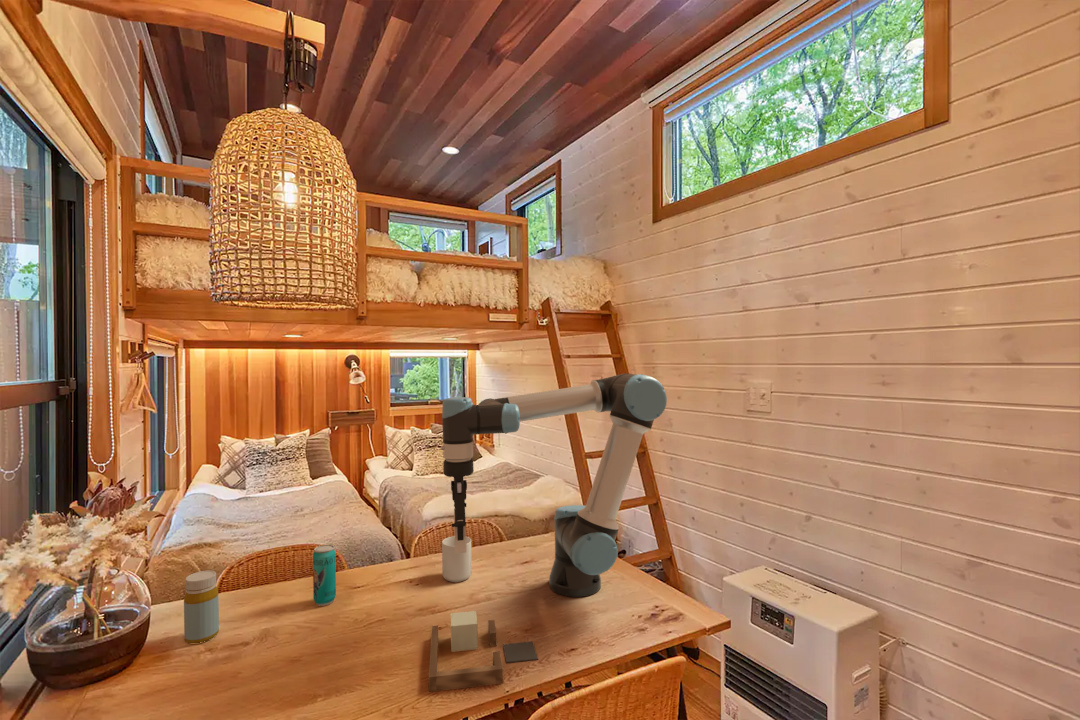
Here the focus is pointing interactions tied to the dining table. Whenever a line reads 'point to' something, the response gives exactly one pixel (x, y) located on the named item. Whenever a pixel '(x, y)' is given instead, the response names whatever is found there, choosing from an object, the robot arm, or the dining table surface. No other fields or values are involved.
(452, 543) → the mug
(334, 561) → the beverage can
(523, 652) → the plate
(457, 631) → the block
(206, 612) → the bottle
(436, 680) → the channel
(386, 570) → the dining table surface
